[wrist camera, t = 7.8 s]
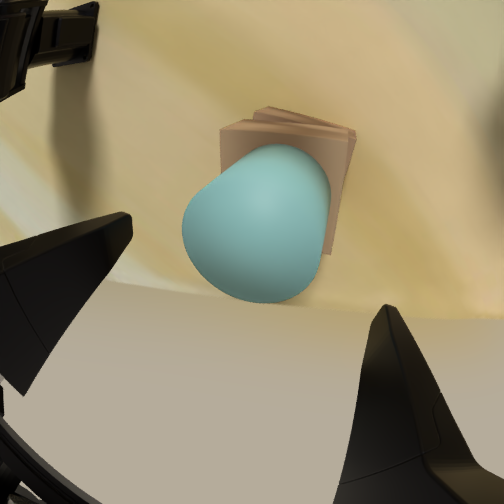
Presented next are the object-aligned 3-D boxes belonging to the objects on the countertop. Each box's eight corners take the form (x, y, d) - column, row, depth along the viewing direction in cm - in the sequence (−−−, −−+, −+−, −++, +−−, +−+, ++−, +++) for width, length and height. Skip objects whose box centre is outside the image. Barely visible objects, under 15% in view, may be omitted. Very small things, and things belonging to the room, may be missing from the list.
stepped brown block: (244, 209, 19) (224, 235, 16) (244, 119, 15) (219, 129, 13) (335, 224, 17) (330, 255, 15) (348, 129, 14) (348, 142, 11)
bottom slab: (255, 182, 21) (239, 200, 19) (269, 106, 18) (254, 111, 15) (331, 205, 20) (327, 228, 18) (355, 130, 17) (356, 139, 14)
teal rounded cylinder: (226, 221, 16) (181, 277, 12) (239, 132, 13) (185, 162, 9) (314, 250, 15) (296, 318, 11) (344, 161, 12) (341, 207, 8)
